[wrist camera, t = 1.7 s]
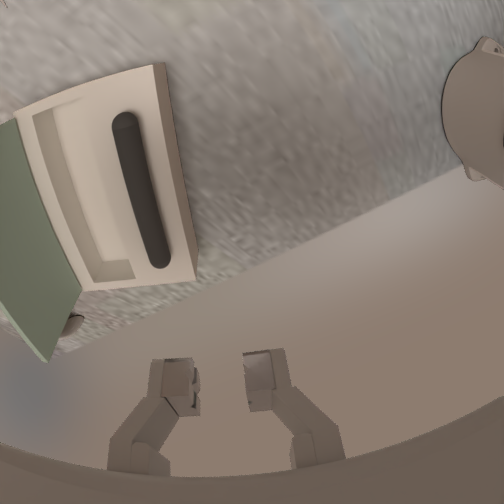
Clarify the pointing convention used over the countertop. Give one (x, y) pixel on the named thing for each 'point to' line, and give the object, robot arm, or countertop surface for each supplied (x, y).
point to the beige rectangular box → (109, 178)
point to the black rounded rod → (140, 188)
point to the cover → (30, 255)
